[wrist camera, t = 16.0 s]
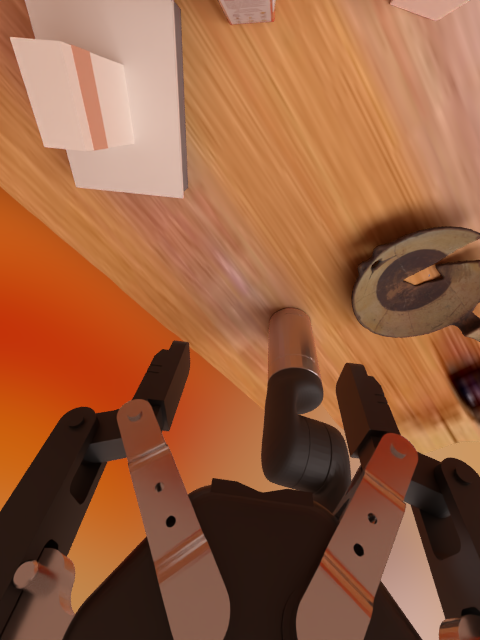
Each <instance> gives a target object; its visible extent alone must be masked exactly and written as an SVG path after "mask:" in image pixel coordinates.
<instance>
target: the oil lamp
mask: <svg viewBox="0 0 480 640" xmlns="http://www.w3.org/2000/svg"><path fill="white" fill-rule="evenodd" d="M478 239H480V233H478V232H476V231H473V230H471V229H467V228H462V227H435V228H429V229H424V230H420V231H417V232H413V233H410V234H408V235H405V236H403V237H400V238H398V239H397V240H395V241H393V242H391V243H388V244H384V245H380V246H377V247H376V248H375V249H374V251H373V255H372V257H371V258H370V259H369V260H367V261H365V262H362V263H361V264H359V266H358V272H359V276H358V278H357V280H356V282H355V285H354V288H353V291H352V307H353V311H354V314H355V316H356V318H357V320H358V321H359V323H360V324H361V325H362V326H363V327H365V328H367V329H369V330H370V331H371V332H373V333H375V334H378V335H382V336H386V337H394V338H398V337H400V338H402V337H412V336H418V335H424V334H429V333H432V332H435V331H437V330H440V329H442V328H444V327H447V326H449V325H455V326H457V327H458V328H459V329H460V330H461V331H462V334H463V335H464V336H465V337H470V338H473V339H475V340H477V341H479V342H480V318H479V317H477V316H476V315H475V314H474V313H473V312H472V311H473V310H474V308H475V307H476V306H477V304H478V303H479V302H480V260H475V261H462V262H460V261H458V262H454V263H444V264H438V265H436V268H437V270H438V271H439V273H440V274H441V275H442V276H443V278H442V279H436V280H432V281H429V282H425V283H422V284H420V285H417V286H414V285H412V284H410V283H407V282H404V281H403V280H404V279H405V278H407V277H409V276H411V275H414V274H415V273H417V272H419V271H421V270H423V269H425V268H427V267H429V266H431V265H433V264H434V263H437V262H438V261H440V260H441V259H443V258H445V257H446V256H448V255H449V254H451V253H453V252H454V251H456V250H457V249H459V248H462V247H464V246H465V245H467V244H469V243H471V242H473V241H476V240H478ZM376 261H379V262H378V263H377V264H376V265H375V266H374V267H373V268H371V266H372V265H373V264H374V263H375V262H376ZM429 276H430V275H429Z"/></svg>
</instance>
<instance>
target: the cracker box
mask: <svg viewBox="0 0 480 640" xmlns="http://www.w3.org/2000/svg"><path fill="white" fill-rule="evenodd" d="M218 2H219V4H220V6H221V7H222V9H223V11H224V13H225V15H226V17H227V19H228V21H229V23H230V24H231V25H232V24H246V23H259V22H274V20H275V0H218Z"/></svg>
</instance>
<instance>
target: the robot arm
mask: <svg viewBox="0 0 480 640" xmlns="http://www.w3.org/2000/svg"><path fill="white" fill-rule="evenodd" d="M189 370H190V352H189V343H188V342H182V341H173V343H172V345H171V347H170V349H169V350H164V349H162V350H161V351H160V352H159V353H157V354H156V355H155V356H154V358H153V360H152V362H151V364H150V366H149V368H148V370H147V373H146V374H145V376H144V378H143V380H142V382H141V384H140V385H139V388H138V390H137V392H136V393H135V395H134V397H133V399H132V400H131V401H129V402H127V403H125V404H124V405H123V406H122V407H121V408H120V409H117V410H114V411H108V412H102V413H96V414H95V412H94V410H92V409H91V408H88V407H79V408H75V409H73V410H71V411H69V412H67V413H66V414H65V415H64V416H63V417H62V418H61V419H60V420H59V422H58V423H57V425H56V426H55V428H54V429H53V431H52V432H51V434H50V436H49V437H48V439H47V440H46V442H45V443H44V445H43V446H42V448H41V450H40V451H39V453H38V454H37V456H36V457H35V459H34V460H33V462H32V463H31V465H30V467H29V468H28V470H27V471H26V473H25V474H24V476H23V477H22V479H21V481H20V482H19V484H18V485H17V487H16V488H15V490H14V491H13V493H12V494H11V496H10V497H9V499H8V501H7V502H6V504H5V505H4V507H3V508H2V510H1V511H0V640H422V639H421V637H420V636H419V634H418V633H417V632H416V630H415V629H414V627H413V626H412V624H411V623H410V622H409V620H408V619H407V618H406V616H405V614H404V613H403V612H402V610H401V609H400V607H399V606H398V604H397V603H396V602H395V600H394V599H393V597H392V596H391V595H390V593H389V592H388V590H387V589H386V587H385V586H384V585H383V583H382V582H381V577H382V574H383V572H384V568H385V566H386V563H387V560H388V558H389V555H390V552H391V549H392V546H393V543H394V541H395V537H396V535H397V532H398V529H399V527H400V524H401V521H402V518H403V515H404V512H405V508H406V504H405V503H404V502H407V503H409V504H411V507H412V511H413V514H414V517H415V521H416V524H417V527H418V530H419V533H420V537H421V540H422V543H423V547H424V550H425V553H426V557H427V560H428V563H429V566H430V570H431V573H432V576H433V579H434V583H435V586H436V589H437V593H438V596H439V599H440V602H441V605H442V609H443V612H444V615H445V619H446V620H444V621H443V622H442V623H441V625H440V629H439V640H480V477H479V475H478V474H477V473H476V472H475V471H474V470H473V469H472V468H471V467H470V466H469V465H467V464H466V463H464V462H463V461H461V460H458V459H455V458H446V459H444V460H443V461H442V462H439V461H437V460H435V459H432V458H430V457H428V456H425V455H423V454H421V453H419V452H417V451H416V449H415V448H414V446H413V445H412V444H411V443H410V442H409V441H408V440H407V439H406V438H404V437H403V436H401V434H400V432H399V430H398V427H397V425H396V422H395V420H394V417H393V415H392V412H391V410H390V407H389V405H388V404H387V400H386V398H385V397H384V393H383V390H382V388H381V385H380V384H379V383H378V382H377V381H376V380H375V378H374V377H373V376H368V375H367V373H366V370H365V367H364V366H363V365H361V364H353V363H346V364H345V366H344V368H343V370H342V372H341V374H340V377H339V379H338V381H337V384H336V396H337V400H338V404H339V409H340V413H341V417H342V422H343V426H344V431H345V435H346V439H347V443H348V448H349V453H350V457H352V458H359V459H360V463H361V465H360V467H359V468H358V470H357V472H356V474H355V476H354V478H353V479H352V481H351V471H350V461H349V455H348V450H347V446H346V443H345V440H344V438H343V436H342V435H341V433H340V432H339V431H338V430H337V429H336V428H334V427H333V426H330V425H328V424H326V423H323V422H319V421H317V420H314V419H310V418H307V417H304V416H301V415H298V414H304V413H307V412H310V411H312V410H314V409H315V408H317V407H318V406H319V405H320V403H321V402H322V400H323V387H322V382H321V376H320V371H319V366H318V360H317V355H316V349H315V344H314V338H313V332H312V327H311V322H310V318H309V317H308V315H307V314H306V313H305V312H303V311H301V310H299V309H295V308H286V309H282V310H280V311H278V312H276V313H275V314H274V315H273V316H272V317H271V319H270V322H269V345H268V388H267V396H266V403H265V416H264V429H263V439H262V451H261V452H262V453H261V459H262V460H261V461H262V468H263V472H264V475H265V477H266V478H267V479H268V480H269V481H270V482H272V483H275V484H278V485H282V486H285V487H289V488H292V489H296V490H292V489H284V490H277V491H271V492H264V493H262V492H258V491H256V490H254V489H252V488H250V487H248V486H245V485H243V484H241V483H239V482H235V481H229V480H222V479H215V478H213V479H212V485H209V486H204V487H201V488H199V489H196V490H195V491H193V492H191V493H189V494H187V492H186V489H185V487H184V484H183V482H182V479H181V477H180V474H179V472H178V469H177V467H176V464H175V461H174V459H173V456H172V454H171V451H170V449H169V447H168V445H167V444H166V442H165V440H164V438H163V435H162V430H163V431H169V430H170V427H171V424H172V421H173V418H174V415H175V413H176V409H177V407H178V403H179V401H180V397H181V395H182V392H183V389H184V386H185V383H186V380H187V377H188V374H189ZM126 457H127V459H128V466H129V471H130V474H131V478H132V482H133V486H134V489H135V493H136V497H137V501H138V505H139V508H140V512H141V516H142V519H143V523H144V527H145V531H146V535H147V537H146V538H145V539H144V540H143V541H142V542H141V543H140V544H139V545H138V546H137V547H136V548H135V549H134V550H133V551H132V552H131V553H130V554H129V555H128V556H127V557H126V558H125V560H124V561H123V562H122V563H121V564H120V565H119V566H118V567H117V568H116V569H115V570H114V571H113V572H112V573H111V574H110V575H109V576H108V577H107V578H106V579H105V581H104V582H102V584H101V585H100V586H99V587H98V588H97V589H96V590H95V591H94V592H93V593H92V594H91V595H90V596H89V597H88V598H87V599H86V601H85V602H84V603H83V604H82V606H81V607H80V608H79V609H78V611H77V612H76V614H74V612H73V610H72V607H71V591H72V587H73V583H74V579H75V567H74V564H73V562H72V561H71V560H70V559H69V558H67V555H68V553H69V550H70V548H71V546H72V543H73V541H74V539H75V536H76V534H77V531H78V529H79V527H80V524H81V522H82V520H83V517H84V515H85V513H86V510H87V508H88V506H89V503H90V501H91V499H92V496H93V494H94V492H95V489H96V487H97V485H98V482H99V480H100V478H101V475H102V473H103V471H104V468H105V466H106V464H107V461H111V460H116V459H121V458H126ZM403 501H404V502H403Z"/></svg>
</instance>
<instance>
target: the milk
mask: <svg viewBox="0 0 480 640" xmlns="http://www.w3.org/2000/svg"><path fill="white" fill-rule="evenodd" d="M468 1H470V0H391V2H390V5H393V6H396V7H398V8H401V9H404V10H407V11H409V12H412V13H415V14H418V15H420V16H423V17H426V18H428V19H431V20H434V21H437V20H439V19H441V18H442V17H444V16H445V15H447V14H449V13H450V12H452V11H454V10H455V9H457V8H458V7H460V6H462V5H463V4H465V3H466V2H468Z"/></svg>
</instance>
